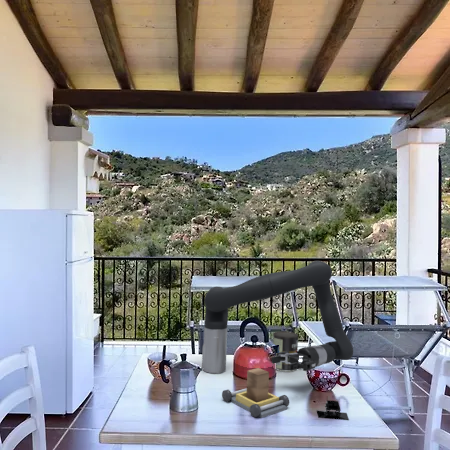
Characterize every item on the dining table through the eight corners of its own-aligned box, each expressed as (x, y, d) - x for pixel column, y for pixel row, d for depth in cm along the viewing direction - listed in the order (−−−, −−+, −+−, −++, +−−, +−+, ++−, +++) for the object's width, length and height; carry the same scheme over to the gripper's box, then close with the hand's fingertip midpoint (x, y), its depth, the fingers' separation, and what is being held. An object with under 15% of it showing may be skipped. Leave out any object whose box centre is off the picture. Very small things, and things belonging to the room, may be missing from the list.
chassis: (221, 399, 147) (221, 388, 147) (252, 390, 155) (252, 380, 155) (257, 419, 132) (258, 407, 132) (289, 408, 141) (290, 397, 141)
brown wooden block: (246, 401, 143) (247, 370, 143) (257, 397, 147) (258, 367, 147) (256, 406, 140) (257, 375, 140) (267, 402, 143) (268, 372, 143)
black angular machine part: (313, 420, 134) (313, 405, 134) (311, 410, 142) (311, 396, 142) (354, 423, 133) (355, 408, 133) (350, 413, 140) (351, 399, 140)
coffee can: (300, 366, 184) (301, 333, 184) (293, 373, 174) (294, 338, 174) (276, 362, 188) (277, 329, 188) (268, 369, 179) (269, 335, 179)
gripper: (297, 341, 167) (267, 347, 157) (327, 351, 156) (296, 358, 146) (296, 361, 167) (266, 368, 157) (326, 372, 156) (295, 381, 146)
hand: (281, 363), depth 151 cm, fingers open, 8 cm apart
